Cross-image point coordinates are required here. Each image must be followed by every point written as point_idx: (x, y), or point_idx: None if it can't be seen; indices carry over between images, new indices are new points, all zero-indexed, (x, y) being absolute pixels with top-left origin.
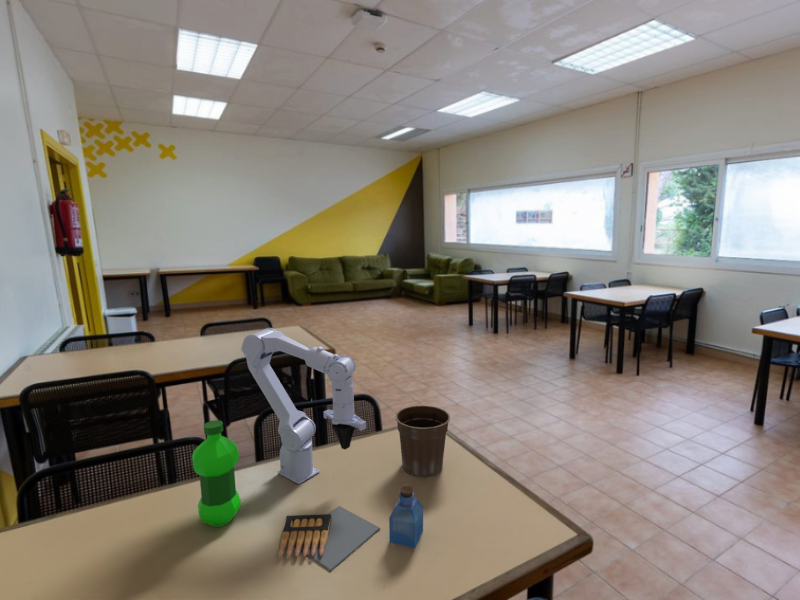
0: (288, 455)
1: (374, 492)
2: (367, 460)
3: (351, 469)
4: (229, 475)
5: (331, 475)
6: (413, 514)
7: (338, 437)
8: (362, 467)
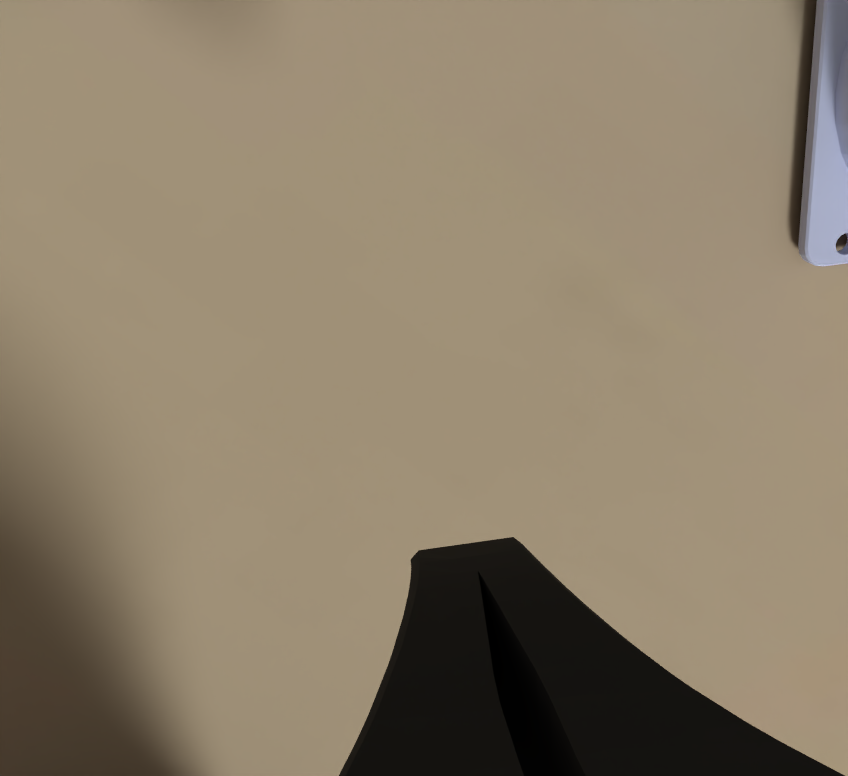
0: None
1: (45, 436)
2: None
3: (556, 526)
4: None
5: (643, 316)
6: None
7: (639, 681)
8: None
